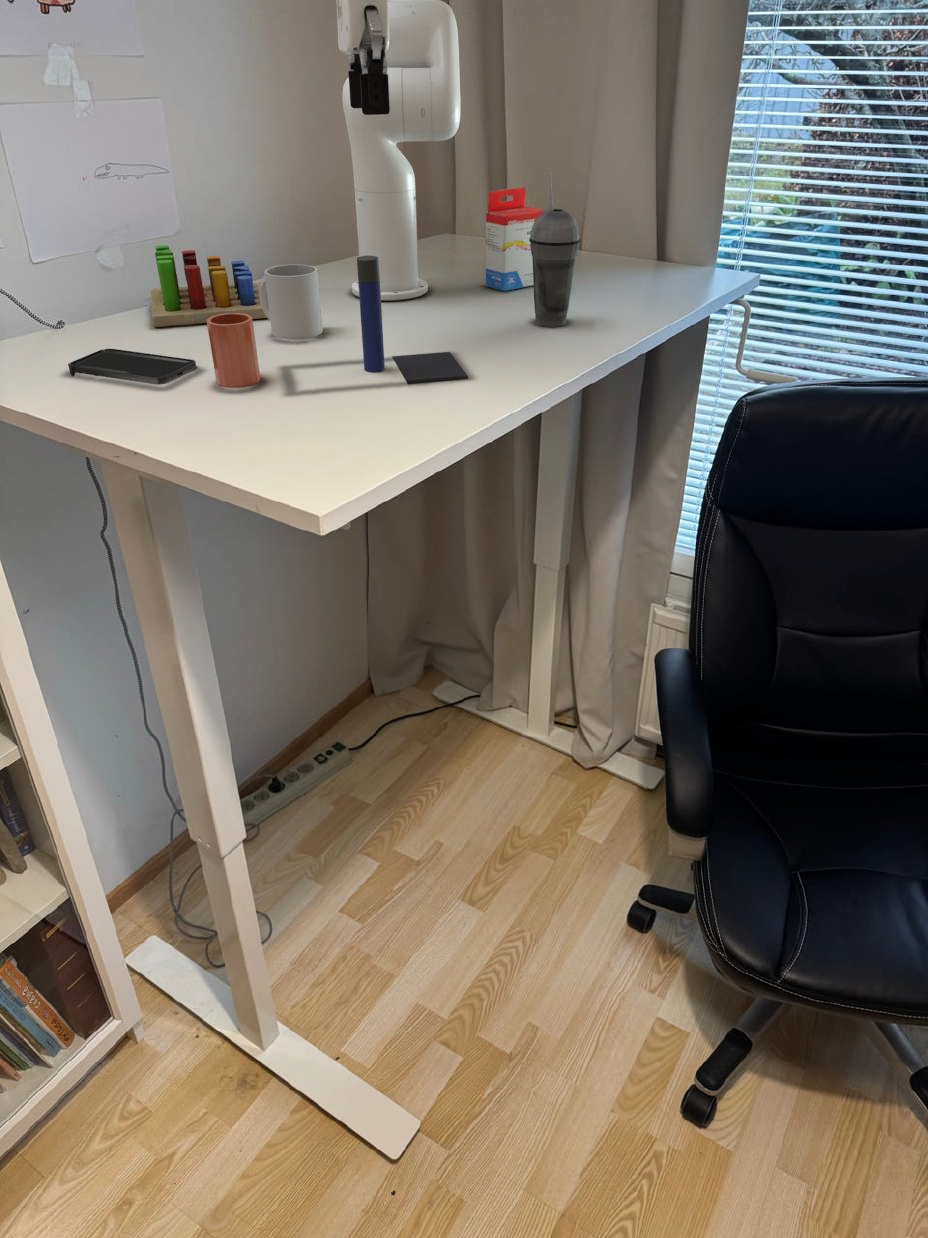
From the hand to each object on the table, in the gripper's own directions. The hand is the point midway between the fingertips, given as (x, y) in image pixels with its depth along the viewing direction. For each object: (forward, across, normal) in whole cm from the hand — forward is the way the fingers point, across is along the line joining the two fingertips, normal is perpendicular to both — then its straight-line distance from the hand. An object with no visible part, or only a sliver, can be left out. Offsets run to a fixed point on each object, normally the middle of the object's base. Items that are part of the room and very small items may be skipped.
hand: (369, 110), depth 108 cm
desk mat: (+28, +12, -3) cm, 31 cm away
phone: (+28, +4, -33) cm, 44 cm away
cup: (+28, -8, -12) cm, 32 cm away
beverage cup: (+28, -4, +26) cm, 39 cm away
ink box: (+28, -27, +27) cm, 48 cm away
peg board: (+28, -25, -23) cm, 44 cm away
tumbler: (+28, +12, -20) cm, 37 cm away
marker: (+28, +12, -3) cm, 31 cm away
